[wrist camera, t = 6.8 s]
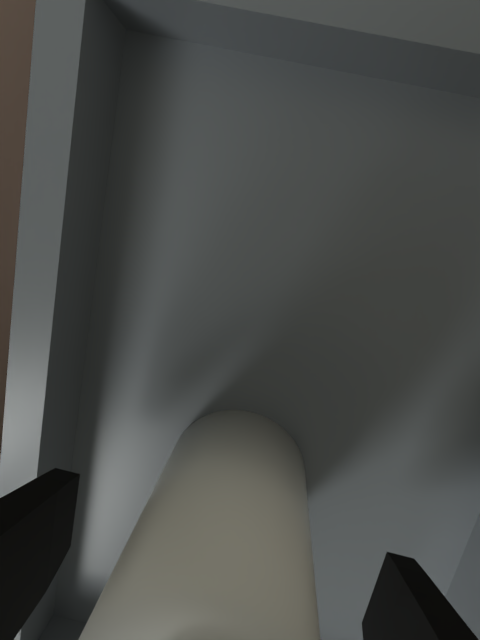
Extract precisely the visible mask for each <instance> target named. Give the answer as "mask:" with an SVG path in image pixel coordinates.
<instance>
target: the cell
mask: <svg viewBox="0 0 480 640" xmlns="http://www.w3.org/2000/svg"><path fill="white" fill-rule="evenodd" d="M78 640H320V629H319V619H318V608H317V597H316V586H315V575H314V564H313V554H312V543H311V532H310V521H309V510H308V499H307V488H306V478H305V467H304V462H303V458H302V455H301V452H300V450H299V448H298V446H297V445H296V443H295V441H294V440H293V439H292V437H291V436H290V435H289V434H288V433H287V432H286V431H285V430H284V429H283V428H282V427H281V426H279V425H278V424H277V423H275V422H274V421H272V420H270V419H269V418H267V417H264V416H262V415H260V414H256V413H253V412H249V411H243V410H224V411H219V412H214V413H211V414H208V415H206V416H204V417H202V418H200V419H198V420H197V421H195V422H194V423H192V424H191V425H190V426H189V427H188V428H187V429H186V430H185V431H184V432H183V433H182V435H181V436H180V438H179V439H178V441H177V443H176V445H175V447H174V449H173V451H172V453H171V455H170V457H169V459H168V461H167V463H166V465H165V467H164V469H163V471H162V473H161V475H160V477H159V479H158V481H157V483H156V485H155V487H154V489H153V491H152V493H151V495H150V497H149V499H148V501H147V503H146V505H145V507H144V509H143V511H142V513H141V515H140V517H139V519H138V521H137V523H136V525H135V527H134V529H133V531H132V533H131V535H130V537H129V539H128V541H127V543H126V545H125V547H124V549H123V551H122V553H121V555H120V557H119V559H118V561H117V563H116V565H115V567H114V569H113V571H112V573H111V575H110V577H109V579H108V581H107V583H106V585H105V587H104V589H103V591H102V593H101V595H100V597H99V599H98V601H97V603H96V605H95V607H94V609H93V611H92V613H91V615H90V617H89V619H88V621H87V623H86V625H85V627H84V629H83V631H82V633H81V635H80V637H79V639H78Z"/></svg>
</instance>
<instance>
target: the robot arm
mask: <svg viewBox="0 0 480 640" xmlns="http://www.w3.org/2000/svg"><path fill="white" fill-rule="evenodd" d="M79 479H80V474H78V473H74V472H70V471H66V470H62V469H58V468H54V469H52V470H50V471H48V472H46V473H45V474H43V475H41V476H39V477H37V478H35V479H34V480H32V481H30V482H28V483H26V484H25V485H23V486H21V487H19V488H18V489H16V490H14V491H12V492H10V493H8V494H7V495H5V496H3V497H1V498H0V640H14V638H15V637H16V635H17V634H18V632H19V631H20V630H21V628H22V627H23V625H24V624H25V622H26V621H27V619H28V618H29V616H30V615H31V613H32V612H33V610H34V609H35V608H36V606H37V605H38V603H39V602H40V600H41V599H42V597H43V596H44V594H45V593H46V591H47V589H48V587H49V586H50V584H51V582H52V580H53V578H54V577H55V575H56V573H57V571H58V569H59V567H60V566H61V564H62V562H63V560H64V558H65V556H66V554H67V552H68V551H69V549H70V547H71V540H72V532H73V525H74V517H75V509H76V502H77V494H78V487H79ZM362 632H363V640H479V639H478V638H477V637H476V636H475V634H474V633H473V632H472V631H471V629H470V628H469V627H468V626H467V624H466V623H465V622H464V621H463V619H462V618H461V617H460V615H459V614H458V613H457V612H456V610H455V609H454V608H453V607H452V605H451V604H450V603H449V601H448V600H447V599H446V598H445V596H444V595H443V594H442V592H441V591H440V590H439V589H438V587H437V586H436V585H435V584H434V582H433V581H432V580H431V578H430V577H429V576H428V575H427V573H426V572H425V571H424V570H423V568H422V567H421V566H420V565H419V564H418V562H417V561H416V560H415V559H414V558H410V557H406V556H402V555H398V554H394V553H390V552H387V553H386V556H385V558H384V561H383V564H382V567H381V570H380V573H379V575H378V578H377V581H376V584H375V587H374V590H373V592H372V595H371V598H370V601H369V604H368V607H367V609H366V612H365V615H364V618H363V621H362Z"/></svg>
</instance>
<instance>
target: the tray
mask: <svg viewBox="0 0 480 640" xmlns="http://www.w3.org/2000/svg"><path fill="white" fill-rule="evenodd" d="M224 410H243V411H249V412H253V413H256V414H260V415H262V416H264V417H267V418H269V419H270V420H272V421H274V422H275V423H277V424H278V425H279V426H281V427H282V428H283V429H284V430H285V431H286V432H287V433H288V434H289V435H290V436H291V437H292V439H293V440H294V441H295V443H296V445H297V446H298V448H299V450H300V452H301V455H302V458H303V462H304V467H305V478H306V488H307V499H308V510H309V521H310V532H311V543H312V554H313V564H314V575H315V586H316V597H317V608H318V619H319V629H320V640H363V632H362V621H363V618H364V615H365V612H366V609H367V607H368V604H369V601H370V598H371V595H372V592H373V590H374V587H375V584H376V581H377V578H378V575H379V573H380V570H381V567H382V564H383V561H384V558H385V556H386V553H387V552H390V553H394V554H398V555H402V556H406V557H410V558H414V559H415V560H416V561H417V562H418V564H419V565H420V566H421V567H422V568H423V570H424V571H425V572H426V573H427V575H428V576H429V577H430V578H431V580H432V581H433V582H434V584H435V585H436V586H437V587H438V589H439V590H440V591H441V592H442V594H443V595H444V596H445V598H446V599H447V600H448V601H449V603H450V604H451V605H452V607H453V608H454V609H455V610H456V612H457V613H458V614H459V615H460V617H461V618H462V619H463V621H464V622H465V623H466V624H467V626H468V627H469V628H470V629H471V631H472V632H473V633H474V634H475V636H476V637H477V638H478V639H479V640H480V0H36V7H35V20H34V33H33V46H32V59H31V72H30V85H29V98H28V111H27V123H26V136H25V149H24V162H23V175H22V188H21V201H20V214H19V227H18V240H17V253H16V266H15V279H14V292H13V305H12V318H11V331H10V343H9V356H8V369H7V382H6V395H5V408H4V421H3V434H2V447H1V460H0V498H1V497H3V496H5V495H7V494H8V493H10V492H12V491H14V490H16V489H18V488H19V487H21V486H23V485H25V484H26V483H28V482H30V481H32V480H34V479H35V478H37V477H39V476H41V475H43V474H45V473H46V472H48V471H50V470H52V469H54V468H58V469H62V470H66V471H70V472H74V473H78V474H80V479H79V487H78V494H77V502H76V509H75V517H74V525H73V532H72V540H71V547H70V549H69V551H68V552H67V554H66V556H65V558H64V560H63V562H62V564H61V566H60V567H59V569H58V571H57V573H56V575H55V577H54V578H53V580H52V582H51V584H50V586H49V587H48V589H47V591H46V593H45V594H44V596H43V597H42V599H41V600H40V602H39V603H38V605H37V606H36V608H35V609H34V610H33V612H32V613H31V615H30V616H29V618H28V619H27V621H26V622H25V624H24V625H23V627H22V628H21V630H20V631H19V632H18V634H17V635H16V637H15V638H14V640H78V639H79V637H80V635H81V633H82V631H83V629H84V627H85V625H86V623H87V621H88V619H89V617H90V615H91V613H92V611H93V609H94V607H95V605H96V603H97V601H98V599H99V597H100V595H101V593H102V591H103V589H104V587H105V585H106V583H107V581H108V579H109V577H110V575H111V573H112V571H113V569H114V567H115V565H116V563H117V561H118V559H119V557H120V555H121V553H122V551H123V549H124V547H125V545H126V543H127V541H128V539H129V537H130V535H131V533H132V531H133V529H134V527H135V525H136V523H137V521H138V519H139V517H140V515H141V513H142V511H143V509H144V507H145V505H146V503H147V501H148V499H149V497H150V495H151V493H152V491H153V489H154V487H155V485H156V483H157V481H158V479H159V477H160V475H161V473H162V471H163V469H164V467H165V465H166V463H167V461H168V459H169V457H170V455H171V453H172V451H173V449H174V447H175V445H176V443H177V441H178V439H179V438H180V436H181V435H182V433H183V432H184V431H185V430H186V429H187V428H188V427H189V426H190V425H191V424H192V423H194V422H195V421H197V420H198V419H200V418H202V417H204V416H206V415H208V414H211V413H214V412H219V411H224Z"/></svg>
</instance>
